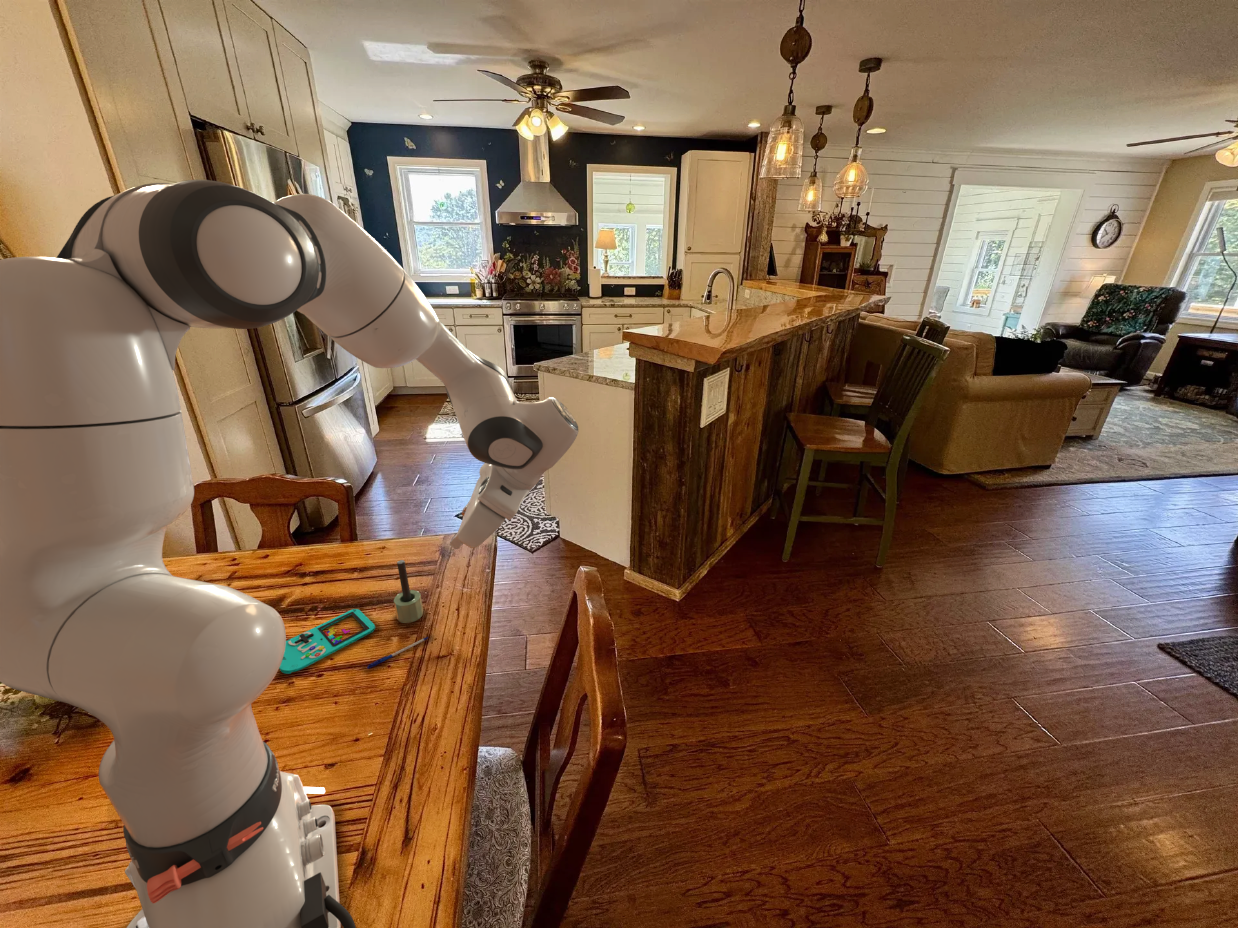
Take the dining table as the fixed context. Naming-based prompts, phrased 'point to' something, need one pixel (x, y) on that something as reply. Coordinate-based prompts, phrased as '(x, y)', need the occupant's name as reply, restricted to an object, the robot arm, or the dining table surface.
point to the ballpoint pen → (393, 654)
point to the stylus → (404, 580)
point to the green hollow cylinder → (408, 607)
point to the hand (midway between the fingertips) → (459, 529)
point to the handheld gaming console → (320, 642)
